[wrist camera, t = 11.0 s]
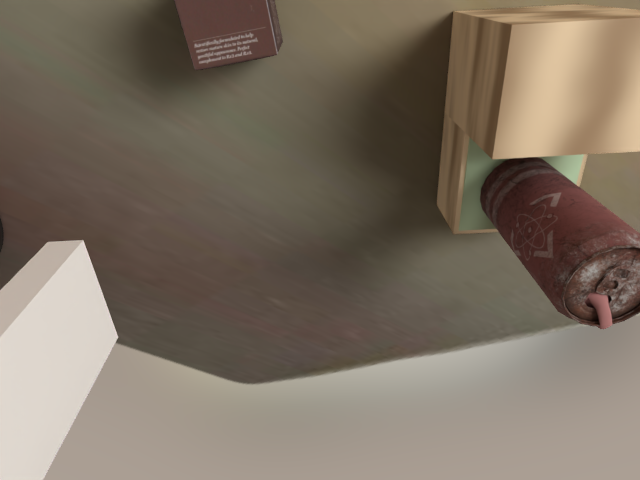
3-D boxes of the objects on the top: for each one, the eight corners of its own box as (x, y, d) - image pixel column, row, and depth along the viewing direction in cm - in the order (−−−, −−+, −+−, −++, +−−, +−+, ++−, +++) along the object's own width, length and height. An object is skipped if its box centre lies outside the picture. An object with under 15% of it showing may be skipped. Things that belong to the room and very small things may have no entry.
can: (485, 233, 39) (563, 346, 27) (471, 168, 36) (552, 262, 24) (557, 211, 38) (671, 318, 26) (549, 142, 35) (673, 227, 23)
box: (211, 56, 37) (192, 72, 31) (189, -28, 34) (162, -29, 28) (284, 43, 37) (279, 56, 31) (268, -43, 34) (258, -48, 28)
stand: (436, 204, 45) (475, 273, 34) (453, 11, 36) (512, 24, 26) (540, 198, 45) (611, 265, 34) (581, 4, 36) (692, 14, 26)
